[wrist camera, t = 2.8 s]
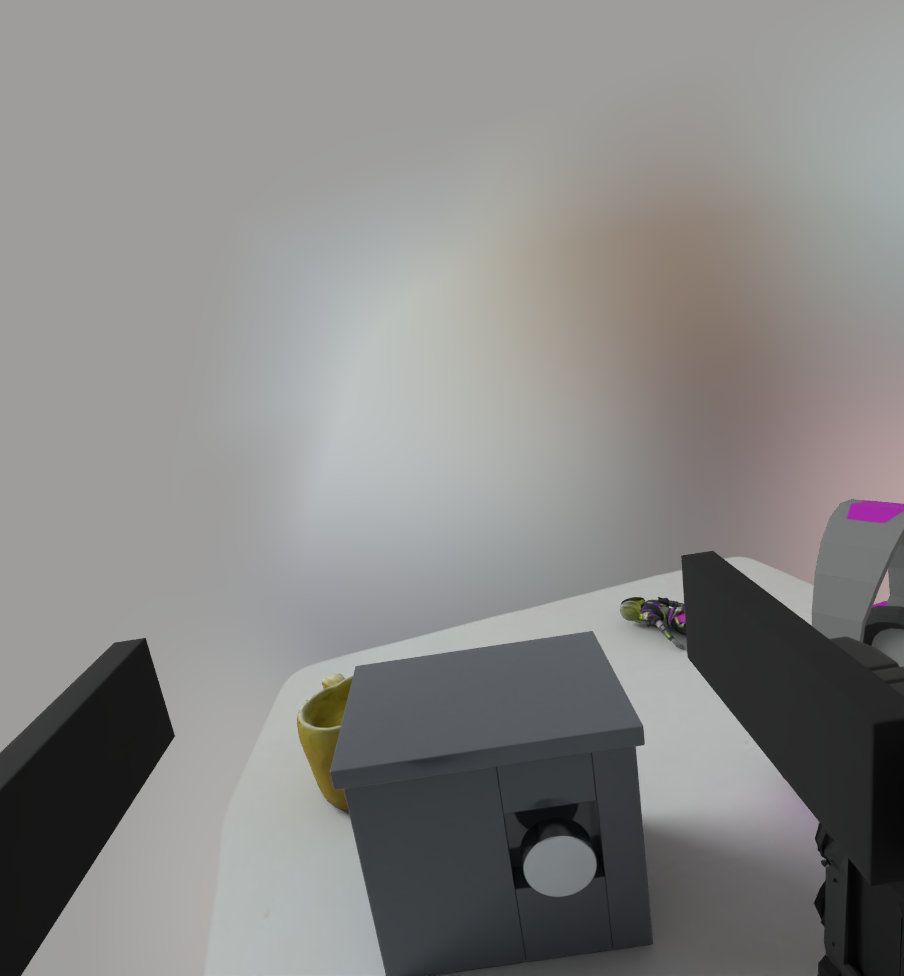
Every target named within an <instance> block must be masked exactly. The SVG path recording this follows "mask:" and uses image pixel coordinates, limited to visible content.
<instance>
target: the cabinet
mask: <svg viewBox="0 0 904 976" xmlns="http://www.w3.org/2000/svg"><path fill="white" fill-rule="evenodd" d="M644 744H645V742H644V730H643V725H642V723H641V721H640V719H639V718H638V716H637V714H636V712H635V710H634V708H633V706H632V704H631V702H630V701H629V699H628V697H627V695H626V693H625V691H624V689H623V687H622V686H621V684H620V682H619V680H618V678H617V676H616V674H615V672H614V670H613V669H612V667H611V665H610V663H609V661H608V659H607V657H606V655H605V654H604V652H603V650H602V648H601V646H600V644H599V642H598V640H597V638H596V637H595V635H594V633H593V631H590V632H583V633H576V634H570V635H563V636H556V637H549V638H543V639H536V640H529V641H522V642H516V643H509V644H502V645H496V646H489V647H482V648H475V649H469V650H462V651H455V652H448V653H442V654H435V655H428V656H422V657H415V658H408V659H401V660H395V661H388V662H381V663H374V664H368V665H361V666H356V667H355V671H354V675H353V679H352V683H351V688H350V692H349V696H348V700H347V704H346V708H345V712H344V716H343V720H342V725H341V729H340V733H339V737H338V741H337V745H336V749H335V753H334V757H333V762H332V766H331V770H330V775H331V779H332V784H333V788H334V790H340V789H344V793H345V797H346V801H347V806H348V810H349V815H350V819H351V823H352V828H353V832H354V837H355V841H356V846H357V850H358V854H359V859H360V863H361V868H362V872H363V876H364V881H365V885H366V890H367V894H368V898H369V903H370V907H371V912H372V916H373V920H374V925H375V929H376V934H377V938H378V942H379V947H380V951H381V956H382V960H383V964H384V969H385V973H386V976H430V975H437V974H444V973H451V972H458V971H465V970H472V969H479V968H486V967H493V966H500V965H507V964H514V963H521V962H526V961H527V962H529V961H536V960H543V959H550V958H557V957H564V956H571V955H578V954H585V953H593V952H600V951H607V950H612V949H614V950H615V949H622V948H629V947H636V946H643V945H650V944H653V938H652V927H651V915H650V904H649V893H648V881H647V870H646V859H645V848H644V836H643V825H642V814H641V802H640V791H639V780H638V768H637V757H636V746H641V745H644ZM554 817H562V818H567V819H571V820H573V821H575V822H577V823H579V824H580V825H581V826H582V827H584V828H585V830H586V831H587V833H588V834H589V837H590V839H591V843H592V846H593V849H594V853H595V856H596V860H597V868H596V872H595V875H594V877H593V879H592V880H591V882H590V883H589V884H588V885H587V886H586V887H585V888H584V889H582V890H581V891H579V892H577V893H575V894H572V895H569V896H563V897H553V896H547V895H544V894H541V893H539V892H537V891H536V890H535V889H533V888H532V887H531V886H530V885H529V883H528V882H527V880H526V878H525V876H524V871H523V865H522V859H521V853H520V845H521V841H522V839H523V836H524V835H525V833H526V832H527V831H528V829H529V828H530V827H532V826H533V825H534V824H536V823H538V822H539V821H542V820H544V819H548V818H554Z"/></svg>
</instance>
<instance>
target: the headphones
mask: <svg viewBox="0 0 904 976" xmlns="http://www.w3.org/2000/svg"><path fill="white" fill-rule="evenodd" d="M887 569H888V573H889V587H890V597H889V599H888V601H884V602H881V603H878V604H875V605H873V603H874V601H875V598H876V595H877V593H878V590H879V587H880V585H881V583H882V580H883V578H884V576H885V574H886V572H887ZM812 627H814V628H815V629H816V630H818V631H819V632H820V633H822V634H823V635H824V636H826V637H827V638H828V639H832V638H839V637H845V636H847V637H850V638H852V639H855V640H857V641H860V642H862V643H865V644H867V645H870V646H873V647H875V648H877V649H878V650H880V651H881V652H883V653H884V654H886V655H887V656H888V657H890V658H891V659H893V660H894V661H896V662H897V663H898V665H899V667H902V666H903V667H904V504H899V503H888V502H878V501H865V500H854V499H851V500H848V501H846V502H843V503H840V505H839V506H838V507H837V509H836V510H835V511H834V513H833V514H832V515H831V517H830V519H829V522H828V524H827V527H826V530H825V532H824V535H823V538H822V540H821V545H820V550H819V555H818V560H817V565H816V570H815V578H814V591H813V604H812ZM781 775H782V774H781ZM783 778H784V777H783ZM784 779H785V778H784ZM785 780H786V779H785Z"/></svg>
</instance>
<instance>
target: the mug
mask: <svg viewBox="0 0 904 976" xmlns="http://www.w3.org/2000/svg"><path fill="white" fill-rule="evenodd" d="M352 679H353V676H352V677H350V678H347V679H345V678H344V677H343V676H342V675H341V674H334V675H332V676H330V677H328V678H326V679H323V680H322V685H323V689H322V690H321V691H319V692H318V693H316V694H315V695H313V696H312V697H311V698H310V699H309V700H306V702H305V703H304V704H303V705H302V706H301V708H300V710H299V712H298V717H297V726H298V733H299V738H300V741H301V744H302V747H303V749H304V752H305V754H306V757H307V759H308V761H309V764H310V766H311V769H312V771H313V774H314V776H315V779H316V781H317V783H318V786H319V788H320V790H321V792H322V793H323V795H324V797H325V798H326V799H327V801H328V802H330V803H331V804H332V805H334V806H335V807H337V808H339V809H342V810H346V811H349V810H348V806H347V801H346V797H345V793H344V789H340V790H334V788H333V784H332V779H331V775H330V770H331V766H332V762H333V757H334V753H335V749H336V745H337V741H338V737H339V733H340V729H341V725H342V720H343V716H344V712H345V708H346V704H347V700H348V696H349V692H350V688H351V683H352Z"/></svg>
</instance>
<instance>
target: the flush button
mask: <svg viewBox="0 0 904 976" xmlns="http://www.w3.org/2000/svg"><path fill="white" fill-rule="evenodd" d="M520 853H521V859H522V865H523V871H524V876H525V878H526V880H527V882H528V883H529V885H530V886H531V887H532V888H533V889H535V890H536V891H537V892H539V893H541V894H544V895H547V896H553V897H563V896H569V895H572V894H575V893H577V892H579V891H581V890H582V889H584V888H585V887H586V886H587V885H588V884H589V883H590V882H591V880H592V879H593V877H594V875H595V872H596V868H597V860H596V856H595V853H594V849H593V846H592V843H591V839H590V837H589V834H588V833H587V831H586V830H585V828H584V827H582V826H581V825H580V824H579V823H577V822H575V821H573V820H571V819H567V818H562V817H554V818H548V819H544V820H542V821H539V822H538V823H536V824H534V825H533V826H532V827H530V828H529V829H528V831H527V832H526V833H525V835H524V836H523V839H522V841H521V845H520Z"/></svg>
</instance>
